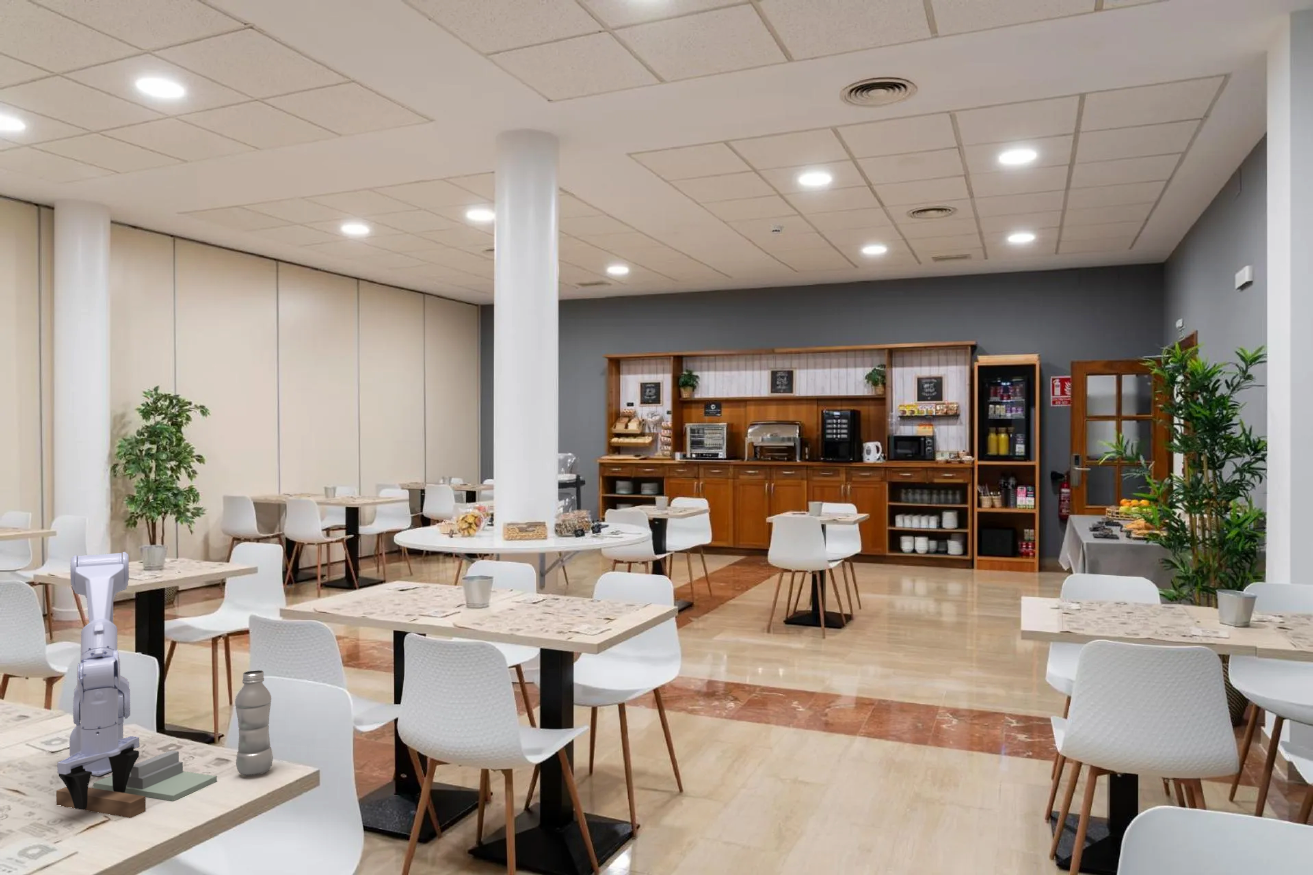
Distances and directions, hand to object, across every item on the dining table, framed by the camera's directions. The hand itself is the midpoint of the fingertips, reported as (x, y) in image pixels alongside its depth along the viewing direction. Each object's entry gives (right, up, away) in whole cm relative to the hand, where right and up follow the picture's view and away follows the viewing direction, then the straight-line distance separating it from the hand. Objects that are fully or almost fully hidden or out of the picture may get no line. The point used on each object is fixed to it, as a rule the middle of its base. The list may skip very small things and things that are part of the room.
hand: (100, 800), depth 162 cm
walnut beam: (0, -2, 0) cm, 2 cm away
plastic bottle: (+21, -1, +16) cm, 26 cm away
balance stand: (+4, -1, +11) cm, 12 cm away
